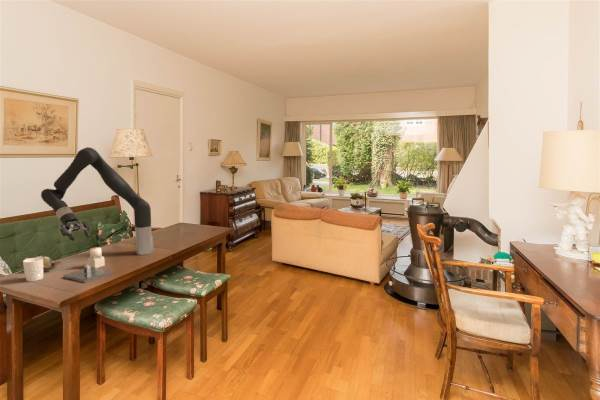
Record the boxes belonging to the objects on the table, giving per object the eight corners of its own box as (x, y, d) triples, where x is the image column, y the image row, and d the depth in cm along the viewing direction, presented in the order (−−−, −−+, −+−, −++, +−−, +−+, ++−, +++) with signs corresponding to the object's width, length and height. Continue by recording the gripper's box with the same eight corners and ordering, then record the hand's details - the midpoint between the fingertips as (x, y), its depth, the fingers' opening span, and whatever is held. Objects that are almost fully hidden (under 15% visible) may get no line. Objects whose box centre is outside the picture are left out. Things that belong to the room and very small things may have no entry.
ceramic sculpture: (29, 252, 182) (61, 251, 187) (30, 267, 183) (61, 266, 188) (19, 258, 172) (53, 257, 177) (20, 274, 173) (53, 273, 178)
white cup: (28, 277, 169) (26, 258, 168) (47, 275, 172) (45, 256, 171) (21, 282, 162) (19, 262, 161) (41, 281, 165) (39, 261, 163)
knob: (97, 264, 191) (96, 246, 189) (104, 265, 189) (103, 247, 187) (88, 267, 186) (87, 248, 184) (95, 268, 183) (94, 249, 182)
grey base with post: (90, 269, 182) (89, 258, 181) (111, 273, 176) (110, 262, 175) (63, 277, 169) (62, 266, 168) (85, 282, 163) (84, 270, 162)
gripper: (56, 214, 185) (71, 236, 182) (81, 210, 198) (96, 231, 195) (50, 222, 187) (65, 245, 184) (76, 218, 200) (90, 239, 197)
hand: (81, 238), depth 190 cm, fingers open, 8 cm apart
